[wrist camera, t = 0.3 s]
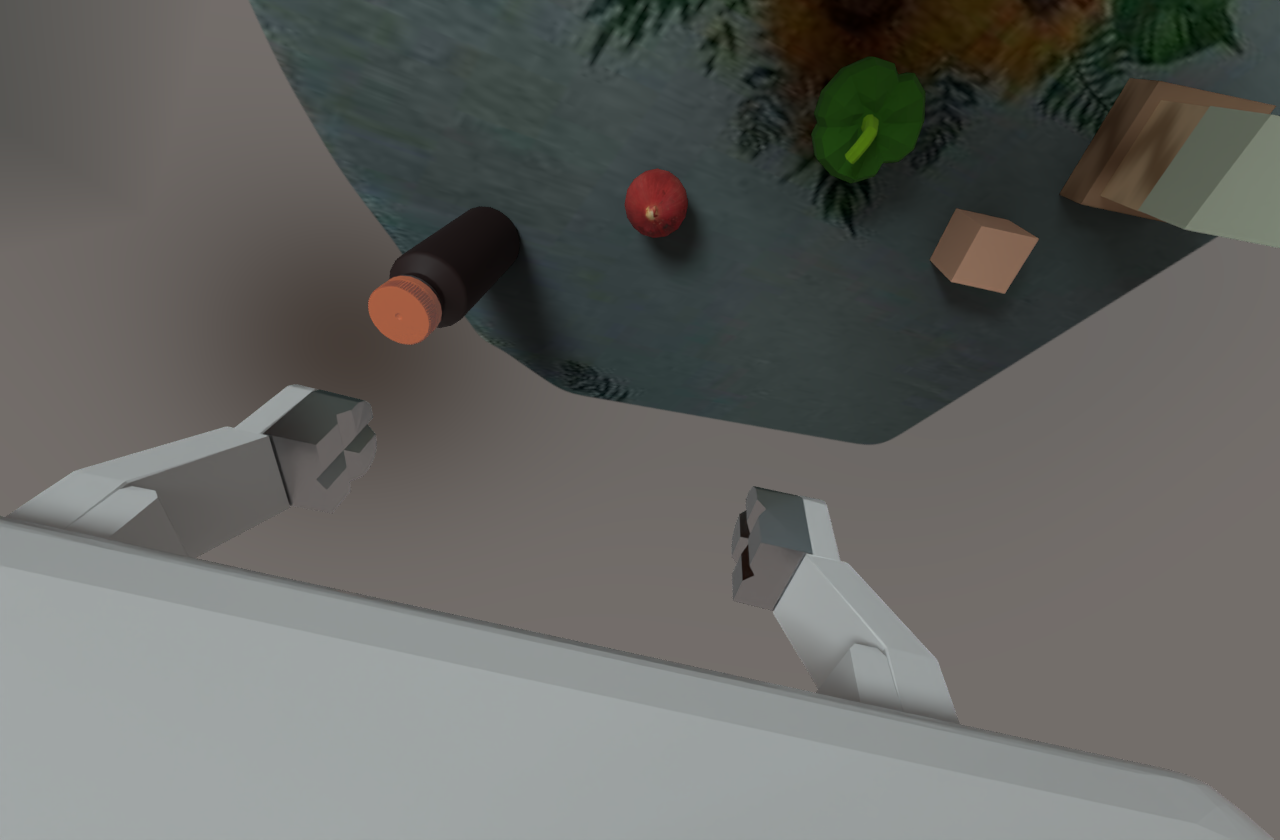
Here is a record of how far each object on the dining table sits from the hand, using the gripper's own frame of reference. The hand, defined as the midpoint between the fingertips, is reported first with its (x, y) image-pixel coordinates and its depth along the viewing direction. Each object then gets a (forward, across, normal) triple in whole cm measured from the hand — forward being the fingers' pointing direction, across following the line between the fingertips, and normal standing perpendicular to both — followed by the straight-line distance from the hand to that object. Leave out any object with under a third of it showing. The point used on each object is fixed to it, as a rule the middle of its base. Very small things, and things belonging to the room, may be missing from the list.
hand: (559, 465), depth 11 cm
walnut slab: (+47, -39, -7) cm, 62 cm away
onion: (+47, +1, +5) cm, 47 cm away
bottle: (+47, +18, +13) cm, 52 cm away
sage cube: (+38, -39, -7) cm, 55 cm away
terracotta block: (+47, -29, +3) cm, 55 cm away
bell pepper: (+47, -14, -5) cm, 49 cm away
